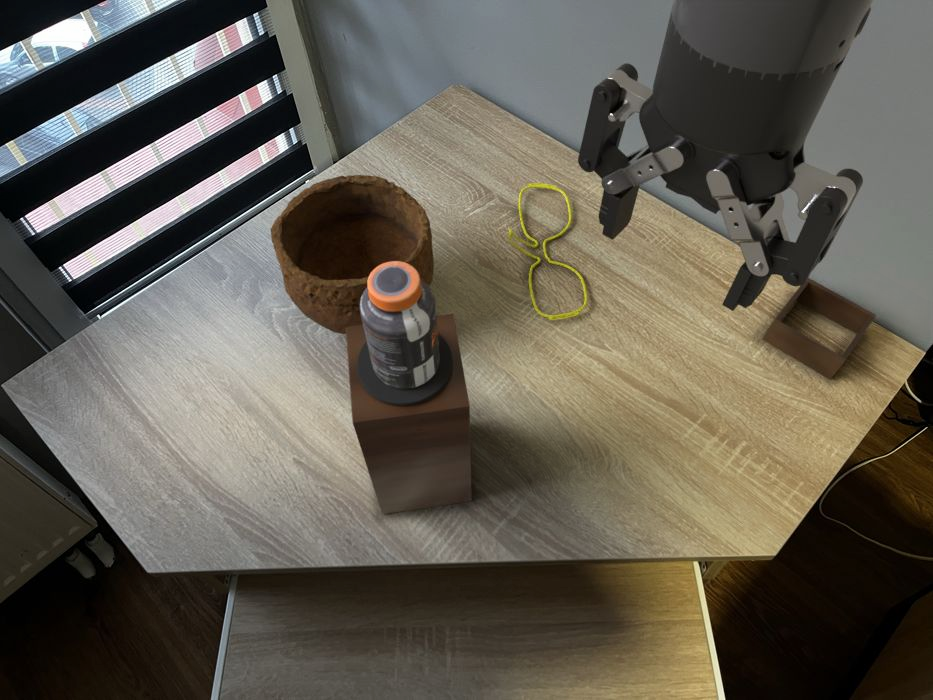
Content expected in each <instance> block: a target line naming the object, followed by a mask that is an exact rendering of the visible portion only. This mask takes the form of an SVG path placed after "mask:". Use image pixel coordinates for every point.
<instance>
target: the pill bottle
mask: <svg viewBox="0 0 933 700" xmlns="http://www.w3.org/2000/svg"><path fill="white" fill-rule="evenodd" d="M367 286H368V287H367V288H366V289H365V291H364V292H363V294H362V297H361V300H360V314H361V319H362V323H363V327H364V331H365V336H366V341H367V345H368V349H369V354H370V358H371V363H372V366H373V369H374V371H375V373H376V375H377V377H378V378H379V379H380V380H381V381H382V382H384V383H385V384H387V385H388V386H391V387H395V388H400V389H409V388H415V387H418V386H420V385H422V384H424V383H426V382H427V381H428V380H429V379H431V378H432V377H433V375H434V374H435V373H436V371H437V369H438V366H439V362H440V354H439V341H438V331H437V318H436V315H437V308H436V299H435V295H434V293H433V291H432V289H431V287H429V286H428V285H427V284H426V283H425V282H424V281H423V280H421V279H420V275H419V273H418V271H417V270H416V269H415V268H414V267H413V266H411V265H410V264H408V263H405V262H401V261H391V262H386V263H383V264H381V265H379V266H377V267H376V268H375V269H374V270H373V271H372V272H371V273H370V275H369V277H368V281H367Z"/></svg>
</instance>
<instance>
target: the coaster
mask: <svg viewBox="0 0 933 700" xmlns="http://www.w3.org/2000/svg"><path fill="white" fill-rule="evenodd" d="M438 341H439V354H440V362H439V366H438V369H437V371H436V373H435V374H434V375H433V377H432V378H431V379H429V380H428V381H427V382H426V383H424V384H422V385H420V386H418V387H415V388H409V389H400V388H395V387H391V386H388V385H387V384H385V383H384V382H382V381H381V380H380V379H379V378H378V377H377V375H376V373H375V371H374V369H373V366H372V363H371V358H370V354H369V349H368V345H367V341H366V342H365V344H364V345H363V347H362V348H361V350H360V353H359V356H358V360H357V371H358V376H359V379H360V382H361V384H362V386H363V387H364V389H365V390H366V391H367V392H368V393H369V394H370V395H371V396H372V397H373V398H375V399H377V400H378V401H380V402H383V403H385V404H388V405H393V406H413V405H417V404H420V403H423V402H425V401H428V400H430V399H431V398H433V397H434V396H436V395H437V394H438V393H439V392H440V391H441V390H442V389H443V388H444V387H445V385H446V384H447V382H448V380H449V378H450V376H451V373H452V367H453V360H452V353H451V350H450V347H449V345H448V343H447V342H446V340H445V339H444V338H443V337H442V336H441V335H440V334H439V333H438Z"/></svg>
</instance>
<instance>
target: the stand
mask: <svg viewBox="0 0 933 700" xmlns="http://www.w3.org/2000/svg"><path fill="white" fill-rule="evenodd" d="M436 318H437V331H438V333H439V334H440V335H441V336H442V337H443V338H444V339H445V340H446V342H447V343H448V345H449V347H450V350H451V353H452V360H453V367H452V373H451V376H450V378H449V380H448V382H447V384H446V385H445V387H444V388H443V389H442V390H441V391H440V392H439V393H438V394H437V395H436V396H434V397H433V398H431V399H430V400H428V401H425V402H423V403H420V404H417V405H413V406H393V405H388V404H385V403H383V402H380V401H378V400H377V399H375V398H373V397H372V396H371V395H370V394H369V393H368V392H367V391H366V390H365V389H364V387H363V386H362V384H361V382H360V379H359V376H358V371H357V360H358V356H359V353H360V350H361V348H362V347H363V345H364V344H365V342H366V336H365V331H364V327H363V325H359V326H351V327H346V334H345V337H346V353H347V365H348V378H349V379H348V380H349V395H350V408H351V422H352V426H353V429H354V433H355V435H356V438H357V441H358V444H359V447H360V450H361V452H362V456H363V459H364V462H365V465H366V468H367V472H368V474H369V478H370V481H371V484H372V487H373V491H374V493H375V496H376V499H377V502H378V506H379V508H380V511H381V515H388V514H396V513H402V512H408V511H415V510H421V509H429V508H435V507H439V506H441V507H442V506H447V505H453V504H454V505H455V504H460V503H466V502H467V503H468V502H472V501H473V499H472V498H473V497H472V453H471V452H472V451H471V448H472V447H471V446H472V445H471V406H470V405H471V404H470V400H469V394H468V388H467V382H466V376H465V372H464V371H465V370H464V366H463V361H462V355H461V354H462V353H461V349H460V343H459V339H458V333H457V327H456V320H455V315H454V313H453V312H451V313H443V314H436Z"/></svg>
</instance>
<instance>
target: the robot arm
mask: <svg viewBox="0 0 933 700" xmlns="http://www.w3.org/2000/svg"><path fill="white" fill-rule="evenodd" d="M873 2H874V0H673V3H672V6H671V9H670V10H671V11H670V15H669V19H668V23H667V27H666V31H665V35H664V40H663V44H662V48H661V52H660V56H659V60H658V64H657V69H656V71H655V76H654V82H653V85H652V88H649V87H647V86H646V85H644V84H643V83H640V82H638V79H639V73H638V70H637V68H636V67H635V66H634V65H633V64H631V63H622V64H621V65H620V66H619V67H617V68H616V69H615V70H614V71H613V72H612V73H610V74H609V75H607V76H606V77H605V78H604V79H603V80H602V81H600V82H599V83H598V84H597V85H596V86H594V88H593V91H592V94H591V100H590V104H589V108H588V113H587V118H586V122H585V126H584V130H583V135H582V139H581V144H580V148H579V153H578V156H577V157H578V158H577V163H578V165H579V168H580V169H582V170H583V171H584V172H586V173H593V172H594V173H595V174H597V175H598V176H599V178H600V179H601V181H600V182H601V187H602V188H603V191H602V197H601V201H600V207H599V212H598V216H597V217H598V221H599V224H600V225H601V226H602V227H603V228H602V235H603V236H604V237H606V238H608V239H610V240H611V241H612V240H615V238H617V237H618V236H619V235H620V234H621V233H622V232H623V231H624V230H625V229H626V228H627V226H629V224H630V222H631V220H632V217H633V213H634V209H635V205H636V201H637V197H638V193H639V190H640V187H641V185H643V184H645V183H647V182H649V181H651V180H653V179H655V178H657V177H659V176H660V178H661V179H662V180H663V182H665V183H666V184H665V188H666V189H668V190H670V191H672V192H674V193H675V194H676V195H677V194H678V195H681V196H684V197H687V198H691V199H692V200H693V201H694V202H696V203H697V204H698V205H699V206H701V207H702V208H703V209H706V210H707V211H709V212H711V213H712V214H715V215H717V213H718V212H719V211H720V213H721V216H722V219H723V222H724V224H725V227H726V230H727V233H728V235H729V238H730V240H731V241H732V242H734V243H738V245H739V248H740V251H741V253H742V256H743V259H744V262H743V263H742V265H740V267H739V269H738V271H737V273H736V275H735V277H734V279H733V281H732V283H731V286H730V287H729V290H728V291H727V294H726V296H725V298H724V300H723V302H722V306H724V307H725V308H727V309H728V310H730V311H731V312H734V311H735V310H736V309H737V307H738V306H741V307H742V308H744V309H746V308H748V307H750V306H751V305H752V304H753V303H754V302H755V301H756V299H757V298H758V297H759V296H760V295H761V294H762V292H763V291H764V290H765V288H766V286H767V284H768V282H769V280H770V279H771V277H772V276H773V275H774V276H775V275H777V276H781V278H782V279H783V281H784V282H785V283H786V284H787V285H790V286H791V287H800V286H801V285H803V284H804V282H805V281H806V280H807V279H808V278H809V277H810V275H811V273H812V272H813V271H814V269H815V268H816V267H817V265H818V264H819V263H821V262H822V261H823V260H824V258H825V257H826V255H827V254H828V252H829V249H830V248H831V246H832V245H833V242H834V240H835V238H836V236H837V234H838V232H839V230H840V228H841V227H842V224H843V222H844V221H845V218H846V217H847V216H848V213H849V211H850V210H851V207H852V205H853V203H854V202H855V199H856V198H857V195H858V194H859V192H860V190H861V188H862V186H863V183H864V177H863V176H862V174H861V173H860V172H859V171H858V170H856V169H854V168H843V169H841V170H839V171H838V172H837V173H836V175H835V174H832V173H830V172H828V171H825V170H823V169H821V168H818V167H815V166H813V165H811V164H808V163H806V158H805V157H806V156H805V143H806V139H807V137H808V134H809V133H810V131H811V129H812V127H813V124H814V122H815V120H816V118H817V117H818V114H819V112H820V110H821V108H822V106H823V104H824V102H825V99H826V97H828V94H829V91H830V89H831V87H832V85H833V83H834V81H835V79H836V77H837V75H838V73H839V71H840V69H841V67H842V65H843V63H844V61H845V59H846V58H847V55H848V52H849V51H850V49H851V47H852V44H853V43H854V40H855V39H856V38H857V37H858V35H860V34H861V32H862V31H863V28H864V27H865V25H866V22H867V20H868V18H869V16H870V14H871V12H872V11H871V10H872V4H873ZM635 113H637V114H638V120H639V124H640V127H641V130H642V132H643V135H644V138H645V140H646V143H647V144H646V145H644V146H642V147H640V148H639V149H637V150H636V151H633V152H632V153H630V154H625V153H624V152H623V151H621V149H619V146H620V143H621V139H622V136H623V132H624V130H625V129H624V128H625V126H626V121H627V120H628V119H629V118H630V117H632V116H633V115H634V114H635ZM788 189H791V190H793V191H794V192H795V194H796V196H797V199H798V202H797V209H798V212H797V216H798V218H799V219H800V220H803V221H804V223H803V226H802V228H801V230H800V231H799V234H798V236H797V238H796V241H791V240H790V236H789V234H788V231H787V227H786V224H785V222H784V219H783V212H784V208H785V203H784V202H785V201H784V199H783V195H782V193H783V192H785V191H786V190H788ZM750 205H752V206H751V207H750V209H749V206H750Z"/></svg>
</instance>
